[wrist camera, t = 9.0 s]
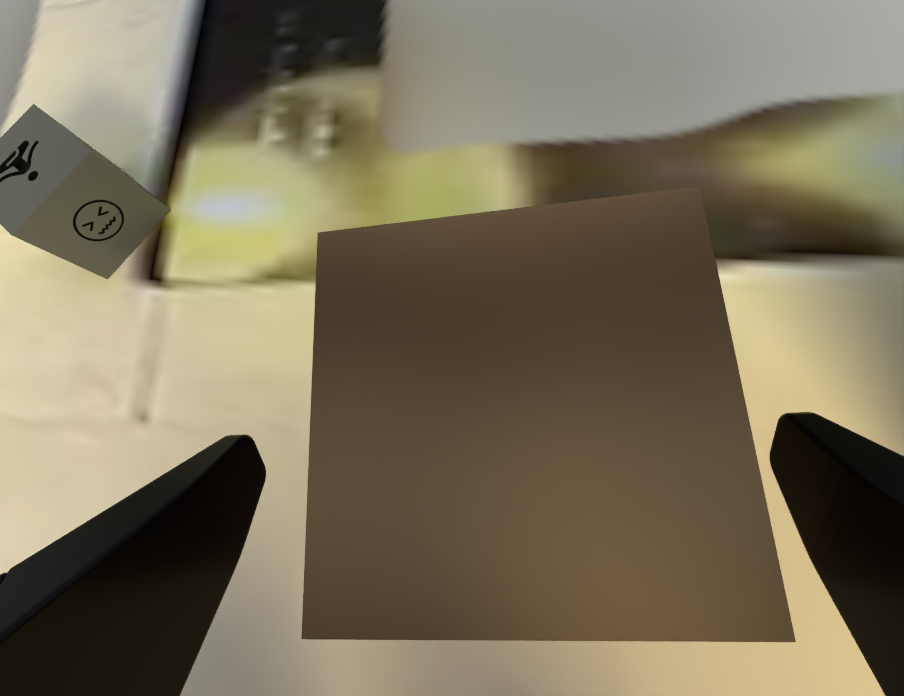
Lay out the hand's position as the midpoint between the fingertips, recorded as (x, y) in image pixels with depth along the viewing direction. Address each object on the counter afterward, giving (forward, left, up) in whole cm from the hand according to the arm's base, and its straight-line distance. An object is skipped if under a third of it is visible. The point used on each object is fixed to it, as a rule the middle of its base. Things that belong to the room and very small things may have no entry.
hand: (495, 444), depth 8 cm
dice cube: (+22, +13, -12) cm, 28 cm away
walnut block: (0, -1, -8) cm, 8 cm away
